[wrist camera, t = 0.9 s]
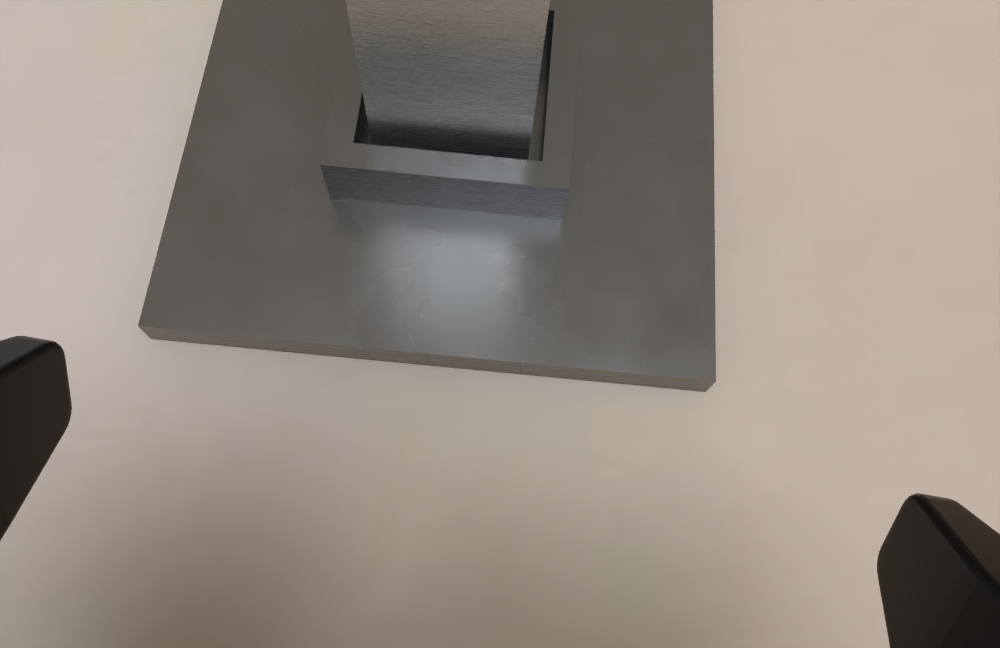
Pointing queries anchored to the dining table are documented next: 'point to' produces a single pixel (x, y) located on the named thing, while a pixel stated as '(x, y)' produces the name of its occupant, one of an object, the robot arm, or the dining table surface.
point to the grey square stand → (452, 206)
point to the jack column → (450, 72)
